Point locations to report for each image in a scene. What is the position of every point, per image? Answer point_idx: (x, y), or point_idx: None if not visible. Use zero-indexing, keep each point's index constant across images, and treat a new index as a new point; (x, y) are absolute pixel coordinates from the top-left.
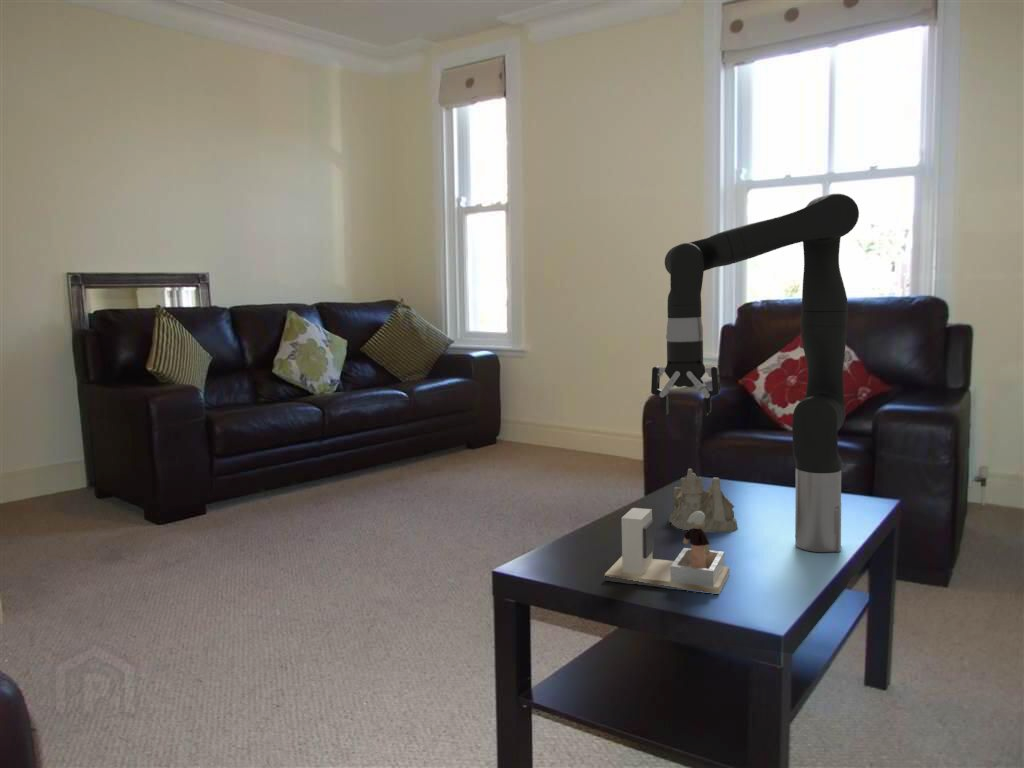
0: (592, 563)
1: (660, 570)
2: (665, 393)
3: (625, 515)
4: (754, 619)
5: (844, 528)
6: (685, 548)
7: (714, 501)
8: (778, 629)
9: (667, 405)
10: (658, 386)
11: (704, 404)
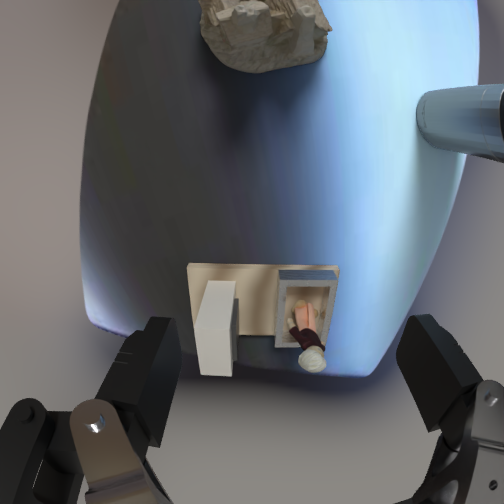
0: (155, 276)
1: (254, 306)
2: (150, 477)
3: (201, 364)
4: (354, 362)
5: (456, 37)
6: (282, 282)
7: (298, 39)
8: (369, 370)
9: (163, 379)
10: (36, 461)
11: (421, 402)
